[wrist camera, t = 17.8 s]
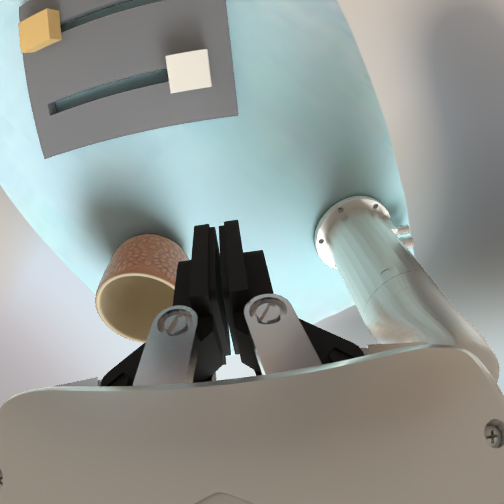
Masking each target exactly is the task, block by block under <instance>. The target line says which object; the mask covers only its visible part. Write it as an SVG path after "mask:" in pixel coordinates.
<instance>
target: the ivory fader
mask: <svg viewBox="0 0 504 504" xmlns="http://www.w3.org/2000/svg"><path fill="white" fill-rule="evenodd" d="M165 57H166V64H167V71H168V78H169V85H170V92H171V94H172V93H177V92H182V91H188V90H194V89H200V88H207V87H212V82H211V74H210V66H209V57H208V50H207V49H203V50H196V51H190V52H184V53H179V54H173V55H168V56H165Z"/></svg>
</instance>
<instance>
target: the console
mask: <svg viewBox="0 0 504 504" xmlns="http://www.w3.org/2000/svg"><path fill="white" fill-rule="evenodd" d="M128 1H131V0H31V1H29V2H27V3H26V4H24V5H22V6H20V7H19V18H20V22H22V21H24V20H25V19H27V18H29V17H31V16H33V15H35V14H37V13H39V12H41V11H43V10H45V9H47V8H48V9H53V10H58V11H59V15H60V26H61V25H63V24H65V23H68V22H70V21H73V20H75V19H78V18H80V17H83V16H85V15H88V14H91V13H93V12H96V11H99V10H102V9H105V8H108V7H111V6H114V5H118V4H121V3H124V2H128ZM61 36H62V40H60V41H58V42H55V43H53V44H51V45H49V46H47V47H44V48H42V49H40V50H38V51H36V52H31V53H23V60H24V67H25V74H26V80H27V86H28V92H29V97H30V102H31V107H32V111H33V116H34V120H35V125H36V129H37V133H38V137H39V141H40V144H41V148H42V152H43V155H44V159H47V158H49V157H52V156H55V155H58V154H62V153H65V152H68V151H71V150H74V149H78V148H81V147H84V146H88V145H91V144H95V143H99V142H102V141H106V140H110V139H114V138H118V137H122V136H126V135H130V134H134V133H139V132H143V131H148V130H153V129H157V128H162V127H167V126H173V125H178V124H184V123H190V122H196V121H202V120H209V119H216V118H223V117H231V116H238V109H237V100H236V91H235V81H234V72H233V63H232V54H231V45H230V36H229V27H228V17H227V8H226V0H163V1H158V2H154V3H149V4H145V5H141V6H138V7H134V8H130V9H127V10H123V11H120V12H116V13H113V14H110V15H107V16H104V17H101V18H98V19H95V20H92V21H90V22H87V23H84V24H81V25H79V26H76V27H74V28H71V29H69V30H67V31H64V32H62V33H61ZM203 49H207V50H208V57H209V66H210V74H211V82H212V87H207V88H200V89H194V90H188V91H182V92H177V93H172V94H171V92H170V85H169V81H168V82H163V83H158V84H153V85H149V86H145V87H140V88H136V89H132V90H128V91H124V92H121V93H117V94H113V95H110V96H106V97H103V98H100V99H96V100H93V101H90V102H87V103H84V104H81V105H78V106H75V107H72V108H69V109H66V110H64V111H61V112H58V113H57V110H56V105H55V101H58V100H60V99H63V98H66V97H68V96H71V95H74V94H77V93H79V92H82V91H85V90H88V89H91V88H94V87H98V86H101V85H104V84H107V83H111V82H114V81H118V80H121V79H125V78H129V77H133V76H137V75H141V74H145V73H149V72H154V71H158V70H163V69H167V64H166V57H165V56H168V55H173V54H179V53H184V52H190V51H196V50H203Z"/></svg>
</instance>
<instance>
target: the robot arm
mask: <svg viewBox="0 0 504 504" xmlns="http://www.w3.org/2000/svg"><path fill="white" fill-rule="evenodd" d="M408 233H409V226H408V225H401V226H397V227H396V226H395V225H393V223H392V222H391V217H390V214H389V212H388V211H387V209H386V208H385V207H384V206H383V205H382V204H381V203H380V202H379V201H377V200H376V199H374V198H371V197H368V196H352V197H349V198H345V199H343V200H341V201H339V202H337V203H336V204H334V205H333V206H332V207H330V208H329V209H328V210H327V211H326V212H325V214H324V215H323V216H322V218H321V219H320V221H319V223H318V225H317V228H316V231H315V238H314V242H315V248H316V250H317V253H318V255H319V257H320V258H321V260H322V261H323V262H324V263H325V264H327V265H328V266H330V267H332V268H335V269H338V271H339V273H340V275H341V277H342V279H343V281H344V283H345V284H346V286H347V288H348V290H349V292H350V294H351V296H352V298H353V300H354V302H355V304H356V306H357V308H358V310H359V313H360V315H361V316H362V318H363V321H364V323H365V325H366V327H367V329H368V331H369V332H370V334H371V335H372V336H373V338H374V339H375V340H376V341H378V342H379V343H380V344H371V345H367V348H359V346H357V345H355V344H354V343H352V342H350V341H347V340H345V339H343V338H341V337H338V336H336V335H334V334H332V333H330V332H327V331H325V330H323V329H321V328H318V327H316V326H314V325H312V324H310V323H308V322H305V321H303V320H301V319H299V318H298V317H297V315H296V313H295V311H294V309H293V307H292V305H291V304H290V302H289V301H288V300H287V299H286V298H284V297H282V296H280V295H276V294H273V290H272V286H271V282H270V277H269V273H268V269H267V265H266V261H265V257H264V253H263V250H259V251H252V252H245V253H243V250H242V243H241V237H240V230H239V223H238V220H233V221H226V222H224V226H219V241H220V253H219V247H218V242H217V236H216V231H215V227H209V224H205V225H198V226H195V227H194V236H193V247H192V259H191V260H187V261H180V262H178V266H177V274H176V281H175V289H174V298H173V306H172V307H169V308H166V309H164V310H163V311H161V312H160V313H159V314H158V315H157V316H156V317H155V319H154V321H153V324H152V326H151V329H150V332H149V335H148V338H147V341H146V342H145V343H144V344H143V345H142V346H140V347H139V348H138V349H137V350H135V351H134V352H133V353H132V354H130V355H129V356H128V357H127V358H125V359H124V360H123V361H122V362H120V363H119V364H118V365H117V366H115V367H114V368H113V369H112V370H110V371H109V372H108V373H107V374H106V375H105V376H104V377H103V379H102V380H99V379H98V377H96V378H91V379H87V380H82V381H77V382H73V383H68V384H63V385H57V386H54V387H43V388H36V389H31V390H27V391H24V392H21V393H18V394H16V395H14V396H12V397H10V398H9V399H7V400H6V401H5V402H4V403H3V404H2V406H1V408H0V504H504V396H503V394H502V392H501V390H500V388H499V387H498V385H497V381H498V377H499V364H498V360H497V357H496V355H495V353H494V351H493V350H492V348H491V347H490V345H489V344H488V343H487V341H486V340H485V339H484V338H483V337H482V336H481V335H480V334H479V333H478V331H476V329H475V328H473V326H472V325H471V324H470V323H469V322H468V321H467V320H466V319H465V318H464V317H463V316H462V315H461V314H460V313H459V312H458V310H457V309H456V308H455V307H454V306H453V305H452V304H451V302H450V301H449V300H448V299H447V297H446V296H445V295H444V294H443V292H442V291H441V290H440V289H439V287H438V286H437V285H436V283H435V282H434V281H433V280H432V278H431V277H430V276H429V275H428V273H427V272H426V271H425V270H424V268H423V267H422V266H421V265H420V263H419V262H418V261H417V260H416V258H415V257H414V256H413V255H412V253H411V252H410V251H409V250H408V249H409V248H412V247H413V243H414V241H413V238H412V237H411V236H407V237H401V238H398V237H397V235H399V234H401V235H402V234H408ZM228 324H229V325H228ZM229 328H230V333H231V337H232V342H233V346H234V351H235V354H240V356H241V361H242V363H244V364H246V365H247V366H249V367H250V368H252V369H253V371H254V376H253V377H244V378H236V379H228V380H218V381H216V371H217V370H218V369H219V367H221V366H222V365H224V364H226V357H225V356H227V355H231V350H230V338H229Z"/></svg>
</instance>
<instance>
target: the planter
mask: <svg viewBox="0 0 504 504" xmlns="http://www.w3.org/2000/svg"><path fill="white" fill-rule="evenodd" d="M187 260H189V258H188V257H187V255H186V253H185V252H184V251H183V249H182V248H181V247H180V246H179V245H178V244H176V243H175V242H173V241H172V240H170V239H168V238H166V237H163V236H160V235H155V234H143V235H138V236H135V237H132V238H130V239H128V240H126V241H125V242H124V243H122V244H121V245H120V246H119V247H118V249H117V250H116V251H115V253H114V254H113V256H112V258H111V260H110V262H109V264H108V266H107V268H106V270H105V272H104V274H103V277H102V279H101V281H100V283H99V286H98V289H97V292H96V298H95V303H96V308H97V311H98V314H99V316H100V318H101V319H102V321H103V322H104V323H105V324H106V325H107V326H108V327H109V328H110V329H111V330H112V331H114V332H115V333H117V334H118V335H120V336H122V337H124V338H127V339H129V340H132V341H136V342H141V343H145V342H146V341H147V338H148V335H149V332H150V329H151V326H152V324H153V321H154V319H155V317H156V316H157V315H158V314H159V313H160V312H161V311H163V310H164V309H166V308H169V307H172V306H173V298H174V289H175V281H176V274H177V266H178V262H180V261H187Z"/></svg>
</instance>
